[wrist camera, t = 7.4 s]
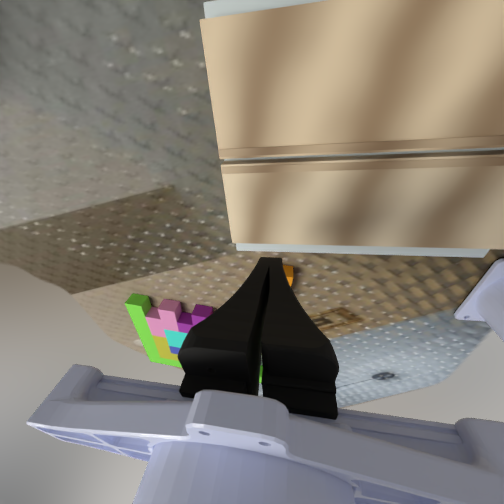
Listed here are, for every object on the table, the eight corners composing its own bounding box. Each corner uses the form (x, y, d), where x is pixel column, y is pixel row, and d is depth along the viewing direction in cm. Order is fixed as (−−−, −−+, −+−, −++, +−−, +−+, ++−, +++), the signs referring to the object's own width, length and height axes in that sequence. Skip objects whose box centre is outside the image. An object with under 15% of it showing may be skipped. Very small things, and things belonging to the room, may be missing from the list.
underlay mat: (726, -82, 8) (734, -85, 8) (482, 256, 18) (483, 257, 18) (204, 3, 12) (203, 2, 12) (237, 249, 22) (236, 250, 22)
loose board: (564, 147, 13) (587, 151, 12) (495, 240, 17) (508, 249, 16) (224, 160, 16) (220, 165, 15) (235, 236, 21) (232, 243, 20)
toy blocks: (278, 372, 37) (314, 266, 22) (277, 386, 35) (316, 281, 20) (156, 349, 39) (114, 236, 24) (150, 361, 37) (99, 247, 22)
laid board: (706, -47, 9) (761, -66, 8) (569, 140, 13) (593, 143, 12) (206, 25, 12) (199, 19, 11) (224, 155, 16) (219, 159, 15)
